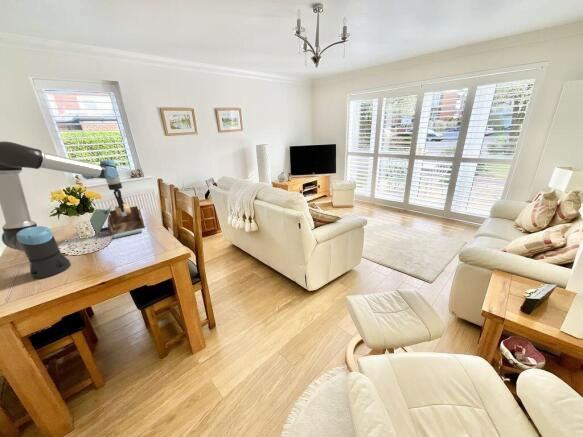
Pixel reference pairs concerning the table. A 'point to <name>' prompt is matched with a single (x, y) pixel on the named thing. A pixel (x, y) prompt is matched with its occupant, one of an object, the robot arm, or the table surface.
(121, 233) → the panel
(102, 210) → the planter
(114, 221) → the brown open rectangular box
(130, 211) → the peach pillar candle
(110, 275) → the table surface
